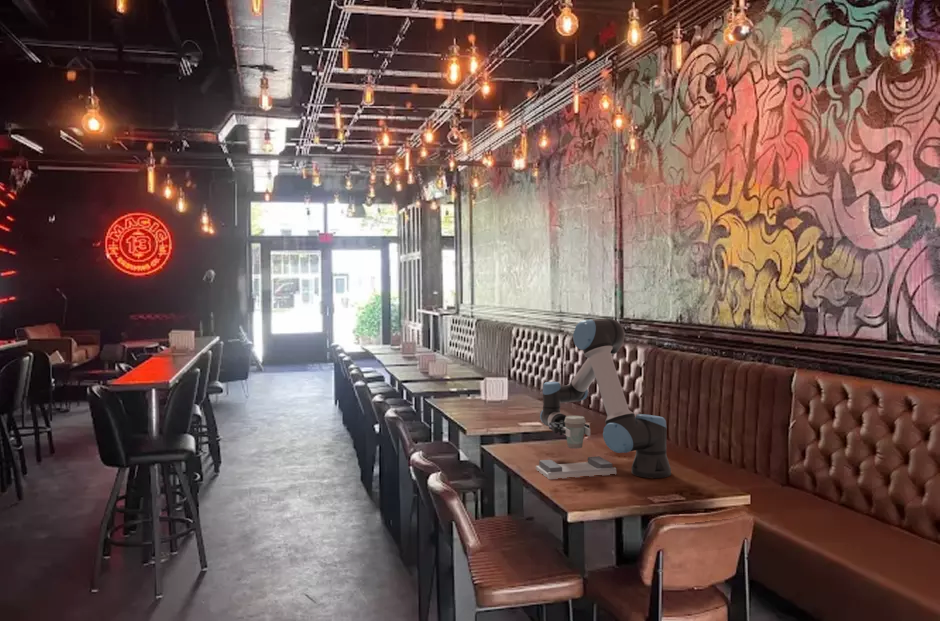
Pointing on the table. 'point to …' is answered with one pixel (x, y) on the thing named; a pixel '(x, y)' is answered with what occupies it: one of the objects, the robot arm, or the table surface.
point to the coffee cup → (575, 431)
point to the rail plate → (575, 468)
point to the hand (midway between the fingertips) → (579, 432)
